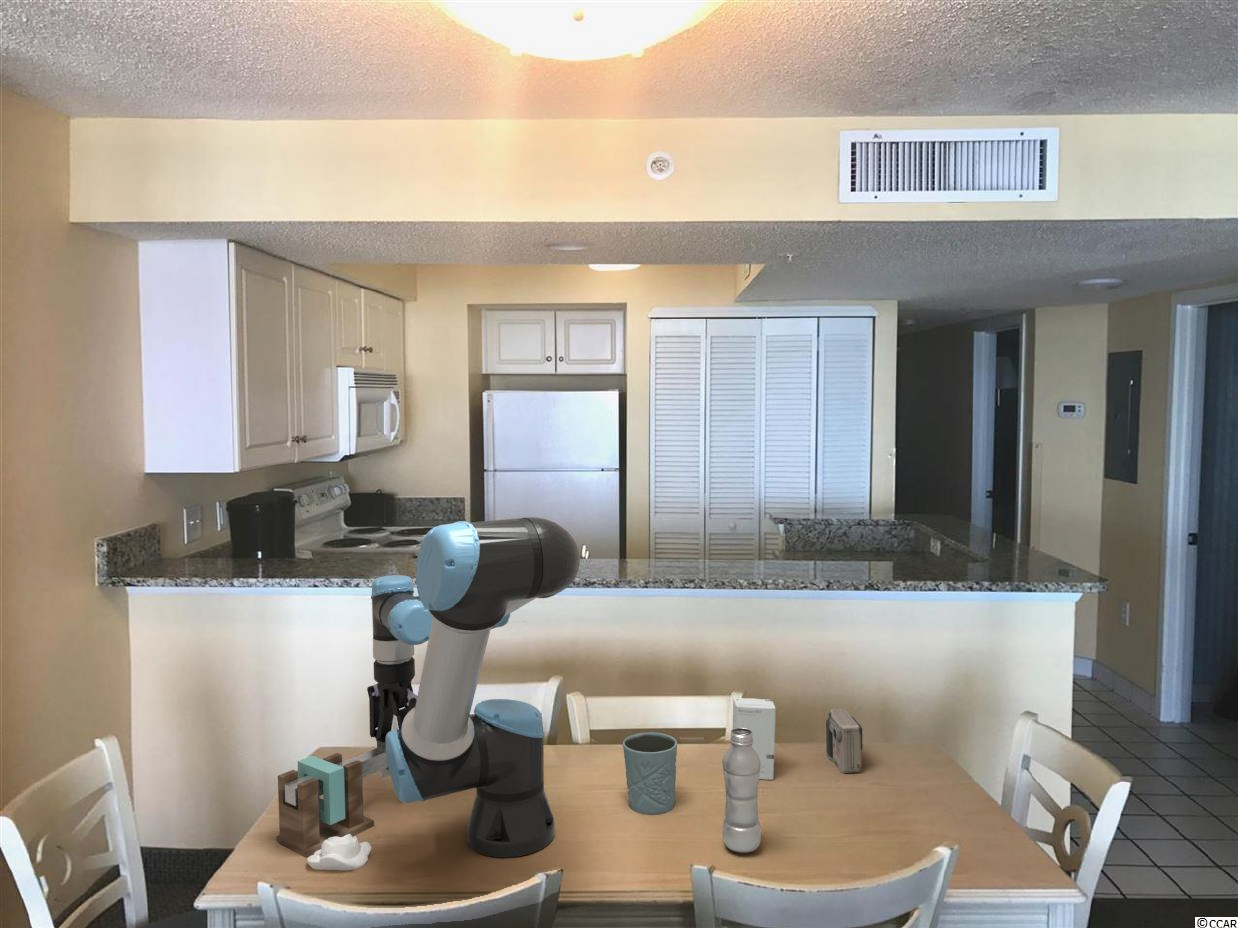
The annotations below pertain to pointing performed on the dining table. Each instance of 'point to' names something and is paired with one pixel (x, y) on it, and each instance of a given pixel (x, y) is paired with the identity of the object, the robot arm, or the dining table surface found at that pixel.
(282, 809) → the block
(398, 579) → the robot arm
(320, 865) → the white cowboy hat
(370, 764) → the shaft
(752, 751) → the plastic bottle
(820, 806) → the dining table surface
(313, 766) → the block
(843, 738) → the camera
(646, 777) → the drinking glass
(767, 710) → the skincare box
